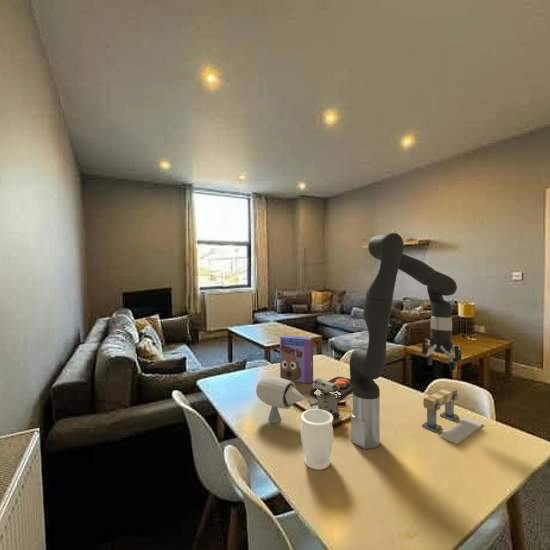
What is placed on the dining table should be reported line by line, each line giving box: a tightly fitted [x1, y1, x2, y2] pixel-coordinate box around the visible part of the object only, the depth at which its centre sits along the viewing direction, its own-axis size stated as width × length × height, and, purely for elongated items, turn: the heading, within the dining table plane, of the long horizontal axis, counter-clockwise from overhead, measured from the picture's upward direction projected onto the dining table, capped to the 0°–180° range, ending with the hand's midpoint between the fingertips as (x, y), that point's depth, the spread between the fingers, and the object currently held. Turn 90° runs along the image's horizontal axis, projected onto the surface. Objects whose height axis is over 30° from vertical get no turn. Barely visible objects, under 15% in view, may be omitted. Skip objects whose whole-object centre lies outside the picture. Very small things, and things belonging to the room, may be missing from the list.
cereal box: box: [279, 334, 314, 385], centre depth 169 cm, size 17×5×24 cm, turn 67°
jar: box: [300, 408, 334, 471], centre depth 99 cm, size 11×10×15 cm
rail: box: [423, 386, 458, 411], centre depth 123 cm, size 19×4×4 cm, turn 125°
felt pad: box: [439, 417, 484, 445], centre depth 117 cm, size 22×6×1 cm, turn 125°
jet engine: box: [255, 376, 306, 423], centre depth 125 cm, size 15×20×18 cm
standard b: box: [439, 393, 460, 422], centre depth 128 cm, size 5×5×10 cm
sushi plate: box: [310, 376, 353, 397], centre depth 152 cm, size 29×30×4 cm
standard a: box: [421, 403, 442, 433], centre depth 119 cm, size 5×5×10 cm
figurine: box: [308, 377, 341, 418], centre depth 129 cm, size 9×12×15 cm
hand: (440, 367), depth 123 cm, fingers open, 8 cm apart
